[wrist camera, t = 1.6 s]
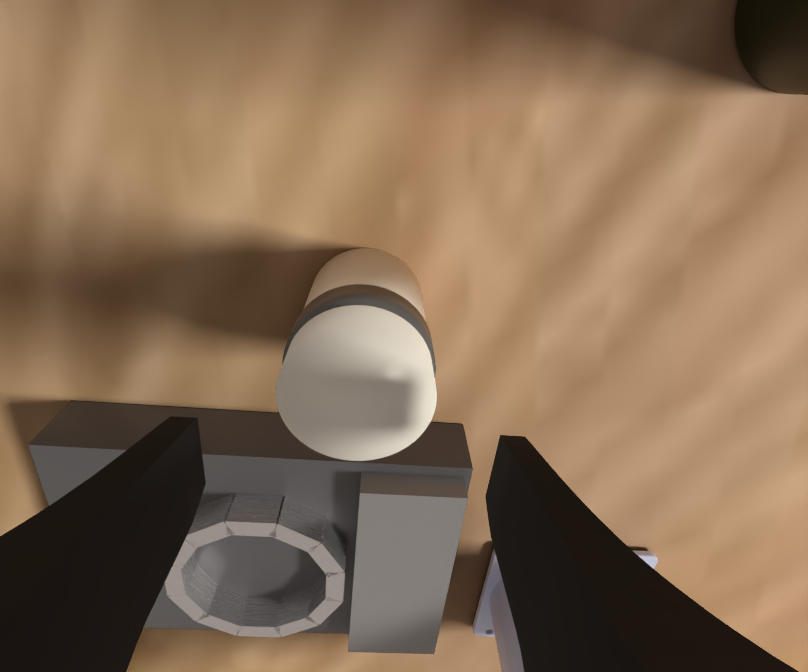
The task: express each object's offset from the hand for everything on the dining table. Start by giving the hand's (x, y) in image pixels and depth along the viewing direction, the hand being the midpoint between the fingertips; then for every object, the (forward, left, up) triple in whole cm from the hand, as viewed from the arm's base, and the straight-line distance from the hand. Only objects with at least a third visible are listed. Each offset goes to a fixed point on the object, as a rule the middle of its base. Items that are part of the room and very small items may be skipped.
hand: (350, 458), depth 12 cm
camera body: (+4, +12, -9) cm, 16 cm away
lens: (0, 0, -10) cm, 10 cm away
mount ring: (+4, +12, -6) cm, 14 cm away
